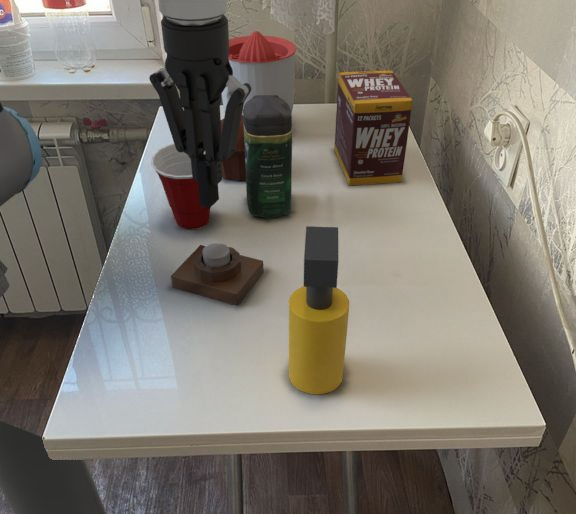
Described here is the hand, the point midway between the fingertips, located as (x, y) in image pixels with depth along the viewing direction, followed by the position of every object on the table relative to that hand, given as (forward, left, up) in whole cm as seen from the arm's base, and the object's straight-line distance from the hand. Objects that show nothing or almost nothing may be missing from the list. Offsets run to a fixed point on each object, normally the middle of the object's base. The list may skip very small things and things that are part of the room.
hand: (209, 202), depth 85 cm
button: (0, 0, -10) cm, 10 cm away
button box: (0, 0, -13) cm, 13 cm away
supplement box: (+10, +45, -13) cm, 47 cm away
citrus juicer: (-17, +50, -13) cm, 55 cm away
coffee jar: (-2, +23, -13) cm, 27 cm away
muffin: (-13, +33, -13) cm, 38 cm away
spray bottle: (+21, -13, -13) cm, 28 cm away
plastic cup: (-12, +13, -13) cm, 22 cm away
